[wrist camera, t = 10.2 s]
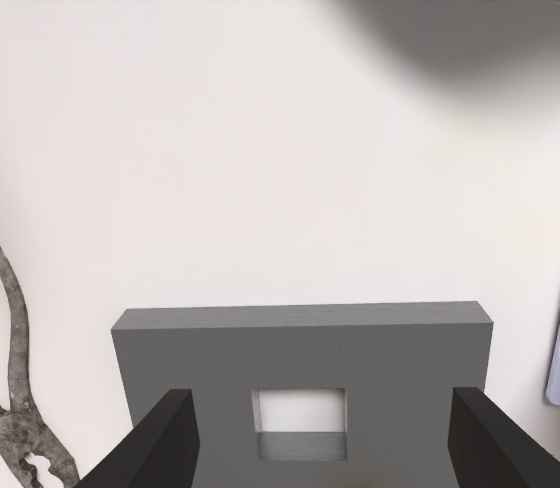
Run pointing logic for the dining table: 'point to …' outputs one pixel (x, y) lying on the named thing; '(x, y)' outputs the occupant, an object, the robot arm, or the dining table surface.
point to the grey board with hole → (311, 386)
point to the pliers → (26, 403)
